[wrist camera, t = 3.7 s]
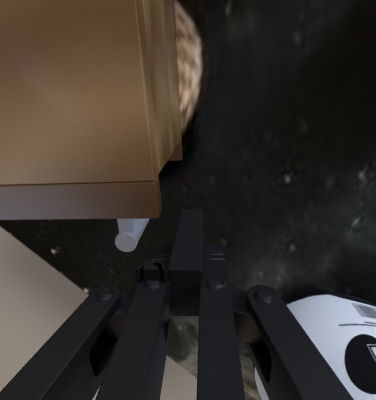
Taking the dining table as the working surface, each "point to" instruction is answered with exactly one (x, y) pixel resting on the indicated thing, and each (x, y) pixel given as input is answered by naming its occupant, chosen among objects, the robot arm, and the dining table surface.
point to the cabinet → (86, 107)
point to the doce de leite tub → (340, 339)
